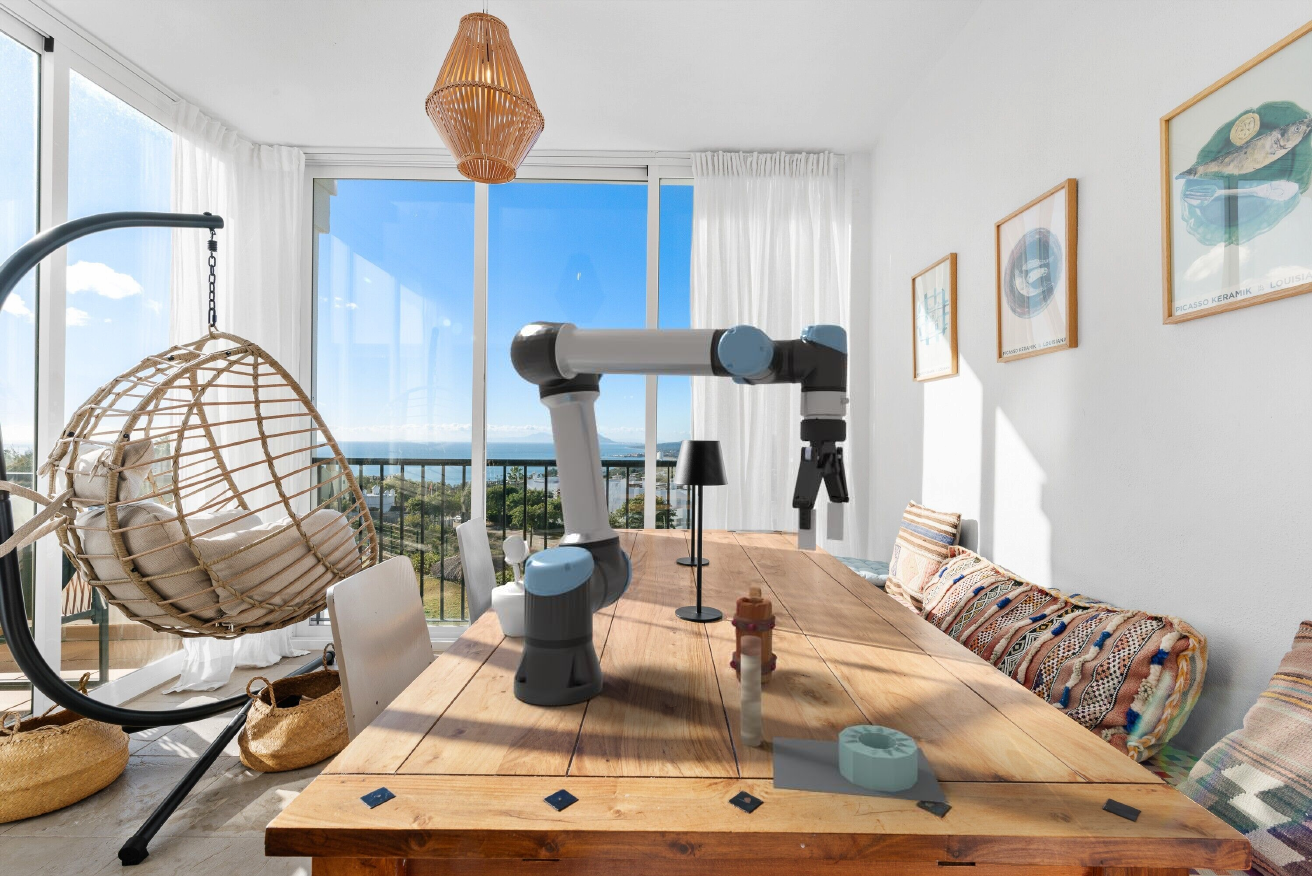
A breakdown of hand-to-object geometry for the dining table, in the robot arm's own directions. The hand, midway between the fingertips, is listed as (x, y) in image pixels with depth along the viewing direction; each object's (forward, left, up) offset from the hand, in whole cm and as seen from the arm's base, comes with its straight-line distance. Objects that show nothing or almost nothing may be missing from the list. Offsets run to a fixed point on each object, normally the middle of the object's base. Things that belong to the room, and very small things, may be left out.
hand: (821, 544), depth 112 cm
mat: (+2, -26, -25) cm, 36 cm away
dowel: (-11, -21, -25) cm, 35 cm away
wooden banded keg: (-11, +8, -25) cm, 29 cm away
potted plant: (-63, +26, -25) cm, 73 cm away
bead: (+5, -27, -25) cm, 37 cm away
